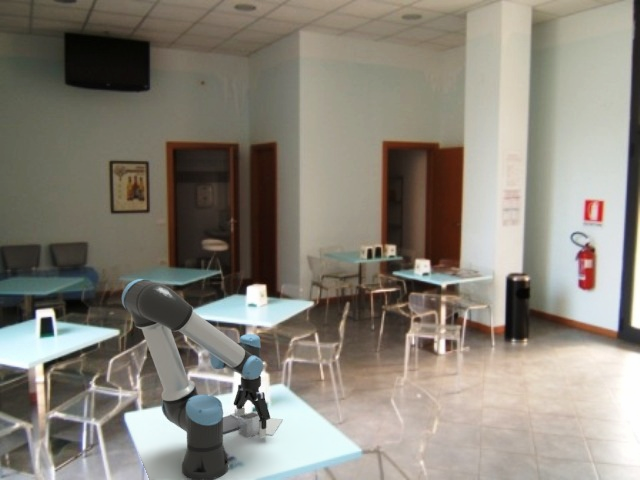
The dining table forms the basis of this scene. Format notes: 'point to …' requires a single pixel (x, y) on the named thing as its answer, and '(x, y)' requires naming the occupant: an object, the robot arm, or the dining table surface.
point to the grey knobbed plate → (230, 422)
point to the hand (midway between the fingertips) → (251, 430)
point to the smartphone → (272, 426)
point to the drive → (249, 424)
